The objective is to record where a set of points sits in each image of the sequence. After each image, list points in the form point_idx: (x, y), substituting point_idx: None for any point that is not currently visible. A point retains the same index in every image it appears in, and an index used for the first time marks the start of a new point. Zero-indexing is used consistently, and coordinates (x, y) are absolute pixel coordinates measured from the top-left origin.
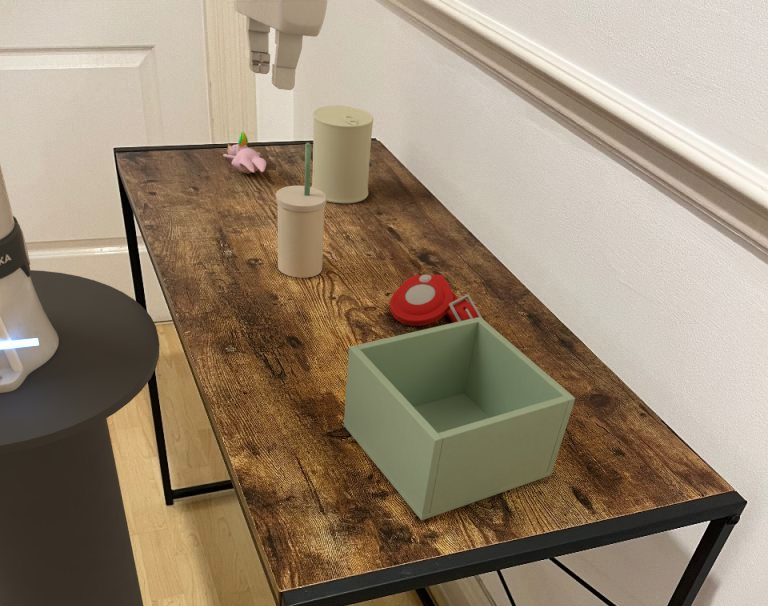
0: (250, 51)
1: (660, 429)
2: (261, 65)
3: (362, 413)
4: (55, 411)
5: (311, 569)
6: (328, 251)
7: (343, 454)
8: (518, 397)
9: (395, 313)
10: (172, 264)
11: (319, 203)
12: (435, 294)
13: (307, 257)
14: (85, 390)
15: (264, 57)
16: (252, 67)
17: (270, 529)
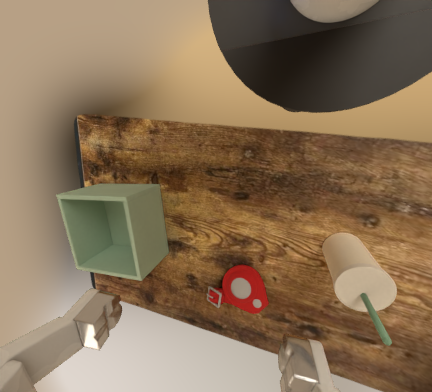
0: (318, 381)
1: (128, 302)
2: (284, 359)
3: (131, 188)
4: (231, 16)
5: (84, 128)
6: None
7: (141, 173)
8: (116, 258)
9: (242, 266)
10: (408, 151)
11: (336, 293)
12: (233, 294)
13: (325, 254)
14: (248, 41)
15: (283, 382)
16: (288, 340)
17: (105, 120)
